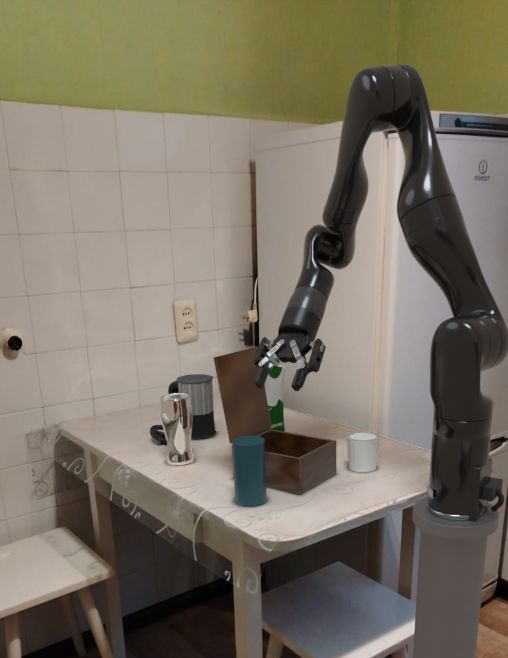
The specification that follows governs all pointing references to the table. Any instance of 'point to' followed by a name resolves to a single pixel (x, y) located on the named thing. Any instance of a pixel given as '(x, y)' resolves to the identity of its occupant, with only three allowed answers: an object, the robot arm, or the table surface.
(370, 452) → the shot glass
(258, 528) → the table surface
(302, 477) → the bin
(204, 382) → the milk frother
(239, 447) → the can
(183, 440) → the beer glass
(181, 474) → the table surface
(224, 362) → the bin lid
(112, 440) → the table surface
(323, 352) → the robot arm
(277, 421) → the milk carton
